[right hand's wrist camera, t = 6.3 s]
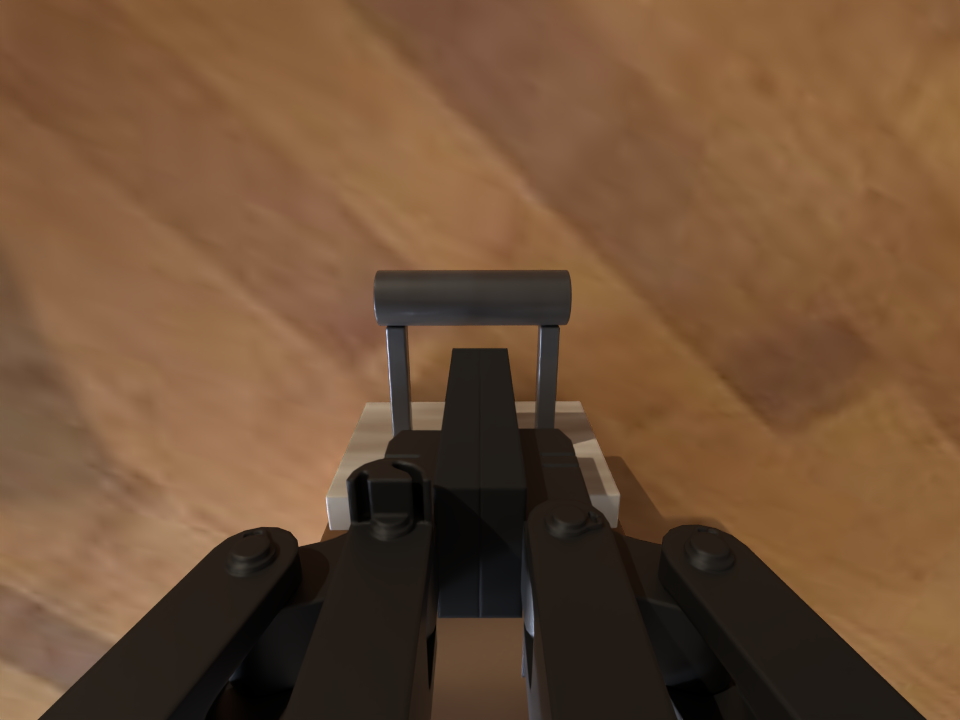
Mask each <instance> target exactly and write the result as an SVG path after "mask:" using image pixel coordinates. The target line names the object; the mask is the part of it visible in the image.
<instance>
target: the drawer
mask: <svg viewBox="0 0 960 720" xmlns="http://www.w3.org/2000/svg"><path fill="white" fill-rule="evenodd" d="M571 300H572V290H571V279H570V275H569V272H568V271H567V270H379V271H377V273H376V275H375V280H374V310H375V317H376V321H377V323H378V325H380V326H387V328H386V338H387V353H388V368H389V383H390V398H391V402H367V403H366V405H365V408H364V410H363V412H362V414H361V417H360V419H359V421H358V424H357V426H356V428H355V431H354V433H353V435H352V438H351V440H350V442H349V445H348V447H347V449H346V451H345V454H344V456H343V458H342V461H341V463H340V465H339V468H338V470H337V472H336V475H335V477H334V479H333V482H332V484H331V486H330V488H329V491H328V493H327V495H326V503H327V511H328V519H329V527H330V530H349V527H350V524H351V522H350V512H349V503H348V493H347V484H346V480H347V478H348V477H349V476H350V474H351V473H352V472H353V471H354V470H355V469H357V468H359V467H360V466H362V465H364V464H366V463H369V462H372V461H375V460H378V459H383V458H384V457H385V452H386V449H387V446H388V443H389V441H390V440H391V439H392V438H393V437H395V436H396V435H397V434H398V433H399V432H400V431H401V430H441V428H442V421H443V414H444V406H445V402H411V386H410V366H409V347H408V327H407V326H473V325H538V349H537V374H536V398H535V401H515V406H516V414H517V421H518V428H558V429H560V430H561V431H562V432H563V433H564V434H565V435H566V436H567V437H568V438H570V439H571V441H572V444H573V447H574V450H575V453H576V456H577V459H578V462H579V467H580V469H581V472H582V475H583V478H584V481H585V484H586V487H587V490H588V494H589V497H590V500H591V503H592V506H593V507H595V508H596V509H598V510H599V511H600V512H602V513H603V514H604V516H605V517H606V519H607V520H608V522H609V524H610V526H611V528H617V523H618V514H619V505H620V496H621V495H620V493H619V490H618V488H617V486H616V483H615V481H614V479H613V476H612V474H611V472H610V469H609V467H608V465H607V462H606V460H605V458H604V455H603V453H602V451H601V448H600V446H599V444H598V442H597V439H596V437H595V435H594V432H593V430H592V428H591V425H590V423H589V421H588V418H587V416H586V414H585V411H584V409H583V407H582V404H581V402H580V401H556V388H557V370H558V352H559V334H560V328H559V325H567V324H568V321H569V318H570V313H571Z"/></svg>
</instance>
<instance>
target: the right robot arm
mask: <svg viewBox="0 0 960 720" xmlns="http://www.w3.org/2000/svg"><path fill="white" fill-rule="evenodd" d="M346 484H347V493H348V503H349V512H350V522H351V524H350V527H349V530H348V532H346V533H344V534H342V535H340V536H338V537H336V538H333V539H329V540H326V541H323V542H318V543H314V544H309V545H305V546H301V547H298V541H297V539H296V538H295V537H294V536H293V535H292V533H291V532H289V531H286V530H284V529H281V528H278V527H260V528H255V529H250V530H245V531H243V532H240V533H238V534H236V535H234V536H231V537H229V538H227V539H226V540H225V541H223V542H222V543H220V544H219V545H218V546H216V547H215V548H214V549H213V550H212V551H211V552H210V553H209V554H208V555H207V556H206V557H205V558H203V559H202V560H201V561H200V562H199V563H198V564H197V565H196V566H195V567H194V568H193V569H192V570H191V571H190V572H189V573H188V574H187V575H186V576H185V577H184V578H183V579H182V580H181V581H180V582H179V583H178V584H177V585H176V586H175V587H174V588H173V589H172V590H171V591H170V592H169V593H167V594H166V595H165V596H164V597H163V598H162V599H161V600H160V601H159V602H158V603H157V604H156V605H155V606H154V607H153V608H152V609H151V610H150V611H149V612H148V613H147V614H146V615H145V616H144V617H143V618H142V619H141V620H140V621H139V622H138V623H137V624H136V625H135V626H134V627H133V628H131V629H130V630H129V631H128V632H127V633H126V634H125V635H124V636H123V637H122V638H121V639H120V640H119V641H118V642H117V643H116V644H115V645H114V646H113V647H112V648H111V649H110V650H109V651H108V652H107V653H106V654H105V655H104V656H103V657H102V658H101V659H100V660H99V661H98V662H97V663H96V664H94V665H93V666H92V667H91V668H90V669H89V670H88V671H87V672H86V673H85V674H84V675H83V676H82V677H81V678H80V679H79V680H78V681H77V682H76V683H75V684H74V685H73V686H72V687H71V688H70V689H69V690H68V691H67V692H66V693H65V694H64V695H63V696H62V697H61V698H60V699H58V700H57V701H56V702H55V703H54V704H53V705H52V706H51V707H50V708H49V709H48V710H47V711H46V712H45V713H44V714H43V715H42V716H41V717H40V718H39V719H38V720H431V712H432V700H433V688H434V677H435V665H436V653H437V627H436V620H437V609H438V618H522V609H523V617H524V627H523V653H522V677H526V688H527V700H528V711H529V720H926V719H925V718H924V717H923V716H922V715H921V714H920V713H919V712H918V711H917V710H916V709H915V708H914V707H913V706H912V705H911V704H910V703H909V702H908V701H907V700H906V699H905V698H904V697H902V696H901V695H900V694H899V693H898V692H897V691H896V690H895V689H894V688H893V687H892V686H891V685H890V684H889V683H888V682H887V681H886V680H885V679H884V678H883V677H882V676H881V675H880V674H879V673H878V672H877V671H876V670H875V669H873V668H872V667H871V666H870V665H869V664H868V663H867V662H866V661H865V660H864V659H863V658H862V657H861V656H860V655H859V654H858V653H857V652H856V651H855V650H854V649H853V648H852V647H851V646H850V645H849V644H848V643H847V642H846V641H844V640H843V639H842V638H841V637H840V636H839V635H838V634H837V633H836V632H835V631H834V630H833V629H832V628H831V627H830V626H829V625H828V624H827V623H826V622H825V621H824V620H823V619H822V618H821V617H820V616H819V615H818V614H817V613H815V612H814V611H813V610H812V609H811V608H810V607H809V606H808V605H807V604H806V603H805V602H804V601H803V600H802V599H801V598H800V597H799V596H798V595H797V594H796V593H795V592H794V591H793V590H792V589H791V588H790V587H789V586H788V585H786V584H785V583H784V582H783V581H782V580H781V579H780V578H779V577H778V576H777V575H776V574H775V573H774V572H773V571H772V570H771V569H770V568H769V567H768V566H767V565H766V564H765V563H764V562H763V561H762V560H761V559H760V558H758V557H757V556H756V555H755V554H754V553H753V552H752V551H751V550H750V549H749V548H748V547H747V546H746V545H745V544H743V543H742V542H740V541H739V540H738V539H736V538H735V537H734V536H732V535H730V534H728V533H725V532H723V531H721V530H718V529H716V528H712V527H707V526H702V525H682V526H679V527H676V528H673V529H671V530H669V532H668V533H667V534H666V535H665V536H664V537H663V541H662V545H660V544H656V543H651V542H647V541H642V540H638V539H634V538H631V537H628V536H625V535H622V534H620V533H618V532H616V531H614V530H612V529H611V526H610V524H609V522H608V520H607V519H606V517H605V516H604V514H603V513H602V512H600V511H599V510H598V509H596V508H595V507H593V506H592V503H591V500H590V497H589V494H588V490H587V487H586V484H585V481H584V478H583V475H582V472H581V469H580V467H579V462H578V459H577V456H576V453H575V450H574V447H573V444H572V441H571V439H570V438H568V437H567V436H566V435H565V434H564V433H563V432H562V431H561V430H560V429H558V428H518V421H517V414H516V406H515V399H514V392H513V385H512V378H511V371H510V364H509V357H508V350H507V348H453V350H452V357H451V364H450V371H449V378H448V385H447V392H446V399H445V406H444V414H443V421H442V428H441V430H401V431H400V432H399V433H398V434H397V435H396V436H395V437H393V438H392V439H391V440H390V441H389V443H388V446H387V449H386V452H385V457H384V458H383V459H378V460H375V461H372V462H369V463H366V464H364V465H362V466H360V467H359V468H357V469H355V470H354V471H353V472H352V473H351V474H350V476H349V477H348V478H347V480H346Z"/></svg>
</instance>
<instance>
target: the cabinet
mask: <svg viewBox="0 0 960 720" xmlns="http://www.w3.org/2000/svg"><path fill="white" fill-rule="evenodd" d="M611 529H612V530H614V531H616V532H618V533H620V534H622V535H625V534H624V531H623V529H622V526H621V524H620V521H619V519H618V523H617V528H611ZM346 532H348V530H330V527H329V521H328V524H327V526H326V529H325V531H324V534H323V536H322V539H321V541H320V542H323V541H326V540H329V539H333V538H336V537H338V536H340V535H342V534H344V533H346ZM436 627H437V653H436V665H435V677H434V688H433V700H432V712H431V720H529V711H528V700H527V688H526V677H522V653H523V627H524V617H523V609H522V618H438V609H437V620H436Z"/></svg>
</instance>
